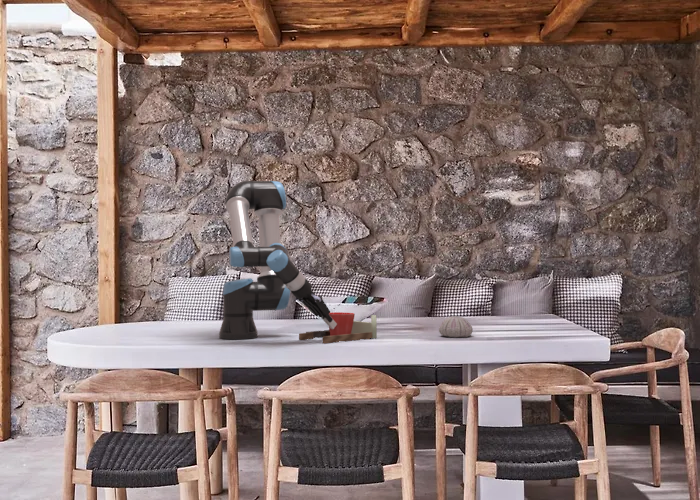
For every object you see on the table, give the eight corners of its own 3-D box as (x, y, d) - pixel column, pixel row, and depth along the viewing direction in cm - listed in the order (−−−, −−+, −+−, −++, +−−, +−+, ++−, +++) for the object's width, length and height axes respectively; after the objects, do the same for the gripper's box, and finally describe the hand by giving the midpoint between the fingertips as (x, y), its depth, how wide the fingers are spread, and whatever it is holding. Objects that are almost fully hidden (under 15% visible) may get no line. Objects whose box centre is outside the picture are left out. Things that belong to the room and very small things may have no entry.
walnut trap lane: (324, 343, 292) (324, 336, 293) (294, 339, 308) (294, 332, 308) (375, 338, 308) (375, 331, 308) (344, 334, 323) (344, 328, 323)
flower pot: (354, 338, 305) (354, 313, 305) (326, 338, 305) (326, 313, 305) (354, 336, 315) (354, 312, 316) (326, 336, 315) (327, 312, 316)
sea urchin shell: (463, 334, 321) (463, 314, 321) (478, 337, 308) (478, 317, 308) (433, 335, 317) (433, 315, 317) (447, 339, 304) (447, 318, 304)
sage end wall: (373, 338, 306) (373, 315, 306) (344, 335, 321) (344, 313, 321) (377, 338, 307) (377, 315, 307) (348, 334, 322) (347, 312, 322)
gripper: (282, 291, 298) (318, 332, 309) (302, 292, 288) (339, 335, 298) (294, 277, 302) (329, 318, 312) (314, 277, 291) (349, 320, 302)
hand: (334, 326), depth 305 cm, fingers closed
